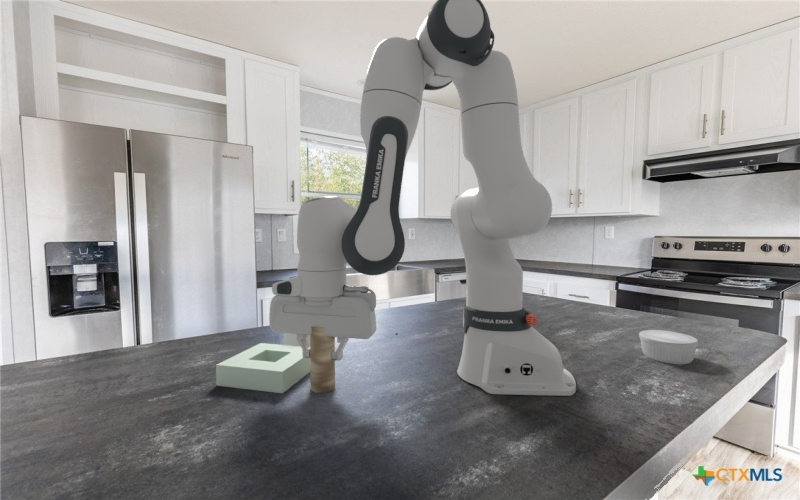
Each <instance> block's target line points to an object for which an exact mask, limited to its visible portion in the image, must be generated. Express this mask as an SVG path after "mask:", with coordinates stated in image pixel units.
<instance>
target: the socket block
mask: <svg viewBox="0 0 800 500" xmlns="http://www.w3.org/2000/svg"><path fill="white" fill-rule="evenodd" d="M215 373H216V374H215V377H216V378H215V379H216V381H215V382H216V386H218V387H227V388H234V389H243V390H249V391H250V390H251V391H259V392H268V393H277V394H284V393H285V392H286V391H288V390H289V389H290V388H291V387H293V386H294V385H295V384H297V383H298V382H300V381H301V380H302V379H303V378H304V377H306V376H307V375H308V374H310V358H304V357H303V351H302V348H301V346H290V345H283V344H277V343H264V342H260V343H257V344H256V345H253V346H252V347H250V348H248V349H246V350H243V351H242V352H240V353H239V352H238V353H237V354H235V355H233V356H230V358H227V359H225V360H222V361H221V362H219V363H217V364H215Z"/></svg>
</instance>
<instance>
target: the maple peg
mask: <svg viewBox="0 0 800 500" xmlns="http://www.w3.org/2000/svg"><path fill="white" fill-rule="evenodd" d="M335 339H336V337H330V336H326V335H325V327H311V335H310V372H309V374H310V377H309V378H310V391H311V392H313V393H315V394H316V393H317V394H325V393H329V392H332V391H334V389H335V388H336V360H332V351H333V350H334V349H335V348H336V340H335Z"/></svg>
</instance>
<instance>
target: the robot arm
mask: <svg viewBox="0 0 800 500" xmlns="http://www.w3.org/2000/svg"><path fill="white" fill-rule="evenodd" d="M487 11H488V10H487V9H486V8H485V5H484V3H483V2H482V1H481V0H436V1H435V2H434V4H432V6H431V8H430V9H429V12H428V14H427V15H426V17H425V19H424V21H423V22H422V24H421V26H420V27H419V29H418V32H417V34H416V36H415V37H414V38H413V39H407V38H404V37H398V36H396V37H395V36H393V37H389V38H388V37H387V38H386V39H383V40H382V41H380V42H379V43H378V44H377V46H376V47H375V49H374V51H373V53H372V54H373V55H372V57H371V60H370V63H369V65H368V69H367V71H366V77H365V80H364V85H363V91H362V96H361V103H360V117H359V121H360V122H359V126H360V127H359V128H360V135H361V137H362V139H363V142H364V144H365V150H366V154H365V155H366V157H365V159H366V160H365V167H364V174H363V180H362V182H363V183H362V186H361V195H360V199H359V203H358V206H357V207H356V206H354V205H352V204H350V203H349V202H347V201H346V200H344V199H343V198H342V197H340V196H338V195H325V196H319V197H318V196H317V197H314V198H310V199H308V200H306V201H305V202H304V203H303V204H302V205H301V206H300V207H299V208H300V209H299V212H298V216H297V217H298V218H297V228H296V229H297V230H296V232H297V233H296V246H297V249H298V254H299V258H298V263H297V270H296V271H297V273H296V274H297V275H296V276H291V277H289V278H287V279H283V280H280V281H277V282H274V283H273V284H272V285H271V292H272V294H273V295H274V296H273V297H272V298H271V300H270V303H269V314H268V315H269V318H268V319H269V322H268V323H269V328H270V330H271V331H272V332H273V333H279V334H280V333H281V334H283V333H291V334H297V341H298V343H299V344H300V346H301V348H302V351H303V357H304V358H310V345H309V343H308V340H307V337H308V336H309V335H311V327H325V335H326V336H330V337H335V338H336V339H337V341H336V343H338V344H339V345H338V347H337V348H336V347H335V349H334V350H333V351H332V360H335V362H336V361H338V362H340V361H342V360H343V357H344V355H343V354H344V352H343V351H344V349H345V347H346V346H347V344H348V342H349V339H356V340H359V339H360V340H369V339H370V338H372V337H373V336H374V335H375V333H376V331H377V318H376V310H375V309H376V306H377V294H376V293H375V292H374V291H373V290H372V289H370V288H369V287H368V286H366V285H365V286H356V285H347V265H348V266H350V267H351V268H352V269H353V270H355V271H356V272H358V273H360V274H363V275H366V276H380V275H383V274H386V273H388V272H390V271H391V270H393V269H394V268H395V267H396V266H397V265H398V264H399V263H400V261H401V259H402V257H403V255H404V252H405V249H406V248H405V247H406V243H405V242H406V241H405V240H406V238H405V233H404V231H403V227H402V223H401V219H400V213H399V211H400V210H399V208H400V200H401V190H402V184H403V176H404V169H405V163H406V158H407V155H408V152H409V150H410V147H411V146H412V142H413V140H414V137H415V135H416V131H417V127H418V124H419V120H420V116H421V109H422V104H423V103H422V102H423V94H424V90H425V91H437V90H442V89H444V88H446V87H447V86H449V85H450V84H451V83H452V84H454V86H455V89H456V91H457V93H458V98H459V101H460V102H459V111H460V124H461V138H462V139H461V140H462V153H463V156H464V158H465V159H466V160H467V161H468V162H469V163H470V164H471V166H472V168H473V171H474V173H475V176H476V179H477V182H478V186H476V187H471V188H469V189H467V190H466V191H464V192H463V193H461V194H460V195H458V196H457V197H456V198H455V199H454V201H453V203H452V205H451V209H450V219H451V222H452V224H453V226H454V228H455V229H456V231H457V232H458V236H459V239H460V244H461V248H462V249H461V250H462V253H463V257H464V264H465V277H466V278H465V279H466V280H465V281H466V283H465V284H466V285H465V288H466V289H465V290H466V291H465V292H466V293H465V296H466V297H465V302H466V303H465V304H464V306H463V311H462V313H463V314H462V329H463V332H464V337H463V345H462V351H461V356H460V361H459V364H458V367H457V370H456V372H457V375H458V376H459V378H461V379H462V380H463V381H465V382H466V383H469V384H472V385H474V386H477V387H478V388H481V389H482V390H483V391H484V392H486V393H487V394H491V395H510V396H511V395H516V396H517V395H518V396H519V395H520V396H521V395H523V396H559V397H561V396H562V397H563V396H564V397H567V396H569V397H570V396H573V395H574V394H575V393H576V391H577V383H576V380H575V379H576V378H574V376H573V375H572V373H571V372H570V371H569V370H567V369H566V368H565V367H564V365H563V360H562V357H561V353H560V351H559V349H558V348H557V347H556V346H555V345H554V344H553V343H552V342H551V341H550V340H549V339H547V338H546V337H545V336H544V335H542V334H541V333H540V332H538V330H537V329H535V328H534V326H536V325H537V324H538V322H539V320H538V317H537V315H536V314H534V313H533V312H531V311H530V310H529V309H528V308H526V307H524V306H523V291H524V290H523V285H524V284H523V281H524V272H523V271H524V270H523V268H522V266H521V264H520V263H519V261H517V259H516V257H515V255H514V254H513V251H512V248H511V244H510V240H511V239H516V240H517V239H521V238H525V237H529V236H531V235H534V234H537V233H539V232H541V231H542V230H543V229H545V227H546V226H547V225H548V223H549V221H550V219H551V216H552V212H553V203H552V197H551V195H550V193H549V191H548V190H547V188H546V187H545V185H543V184H542V183H541V182H539V181H538V180H537V179H536V178H535V177H534V175H533V174H532V172H531V170H530V168H529V166H528V163H527V161H526V158H525V154H524V151H523V147H522V139H521V126H520V125H521V124H520V115H519V99H518V90H517V85H516V79H515V74H514V70H513V67H512V66H513V65H512V63H511V61H510V59H509V57H508V56H507V55H506V54H505V53H504V52H502V51H499V50H494V49H493V48H494V44H495V33H494V32H493V30H492V28H491V22H490V21H491V20H490V17H489V14H488V12H487ZM509 239H510V240H509Z"/></svg>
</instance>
